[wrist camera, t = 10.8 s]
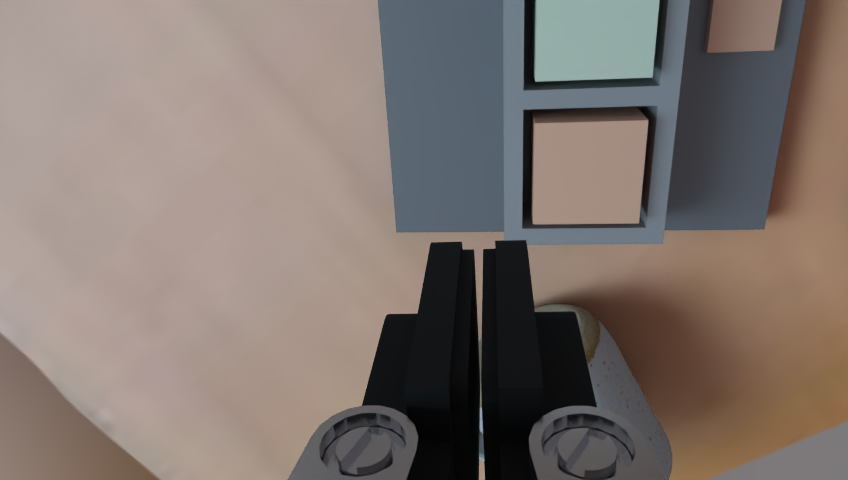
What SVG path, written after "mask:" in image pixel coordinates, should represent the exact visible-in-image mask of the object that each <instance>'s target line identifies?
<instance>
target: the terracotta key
mask: <svg viewBox="0 0 848 480" xmlns="http://www.w3.org/2000/svg"><path fill="white" fill-rule="evenodd" d="M647 131H648V119H647V118H646V117H645V116H644V115H643V113H642V112H641V111H640V110H639V109H638V108H637V107H636V106H627V107H595V108H562V109H531V131H530V205H531V212H532V220H533V224H635V223H639V218H640V207H641V196H642V185H643V175H644V164H645V153H646V142H647Z"/></svg>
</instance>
